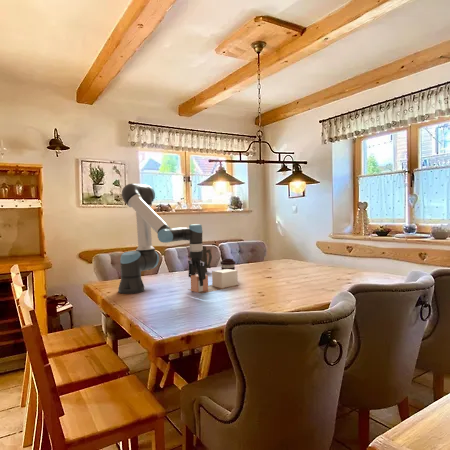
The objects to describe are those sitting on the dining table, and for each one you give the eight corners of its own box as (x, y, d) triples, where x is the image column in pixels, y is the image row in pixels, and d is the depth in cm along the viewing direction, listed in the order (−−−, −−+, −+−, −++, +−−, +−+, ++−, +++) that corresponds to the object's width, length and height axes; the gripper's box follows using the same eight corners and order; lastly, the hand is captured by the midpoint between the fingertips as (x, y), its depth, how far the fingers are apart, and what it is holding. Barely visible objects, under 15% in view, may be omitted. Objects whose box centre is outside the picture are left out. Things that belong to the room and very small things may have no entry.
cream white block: (221, 288, 213) (221, 272, 213) (212, 285, 220) (212, 271, 220) (237, 284, 222) (237, 270, 221) (228, 282, 228) (227, 268, 228)
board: (201, 294, 200) (201, 293, 200) (187, 290, 211) (187, 289, 211) (240, 286, 220) (240, 285, 220) (225, 283, 230) (225, 282, 230)
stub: (197, 292, 203) (196, 276, 203) (191, 290, 208) (190, 275, 207) (208, 290, 208) (207, 274, 208) (201, 288, 213) (201, 273, 212)
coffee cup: (234, 283, 230) (233, 260, 229) (219, 283, 232) (219, 260, 231) (236, 280, 240) (236, 258, 239) (222, 280, 242) (222, 258, 241)
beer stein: (190, 272, 274) (191, 246, 272) (195, 270, 284) (196, 245, 283) (209, 274, 269) (210, 248, 268) (213, 272, 279) (215, 246, 278)
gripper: (211, 251, 201) (212, 292, 202) (192, 249, 215) (192, 287, 216) (201, 252, 196) (201, 294, 197) (181, 250, 211) (182, 288, 212)
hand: (197, 290), depth 207 cm, fingers closed on stub, 6 cm apart
